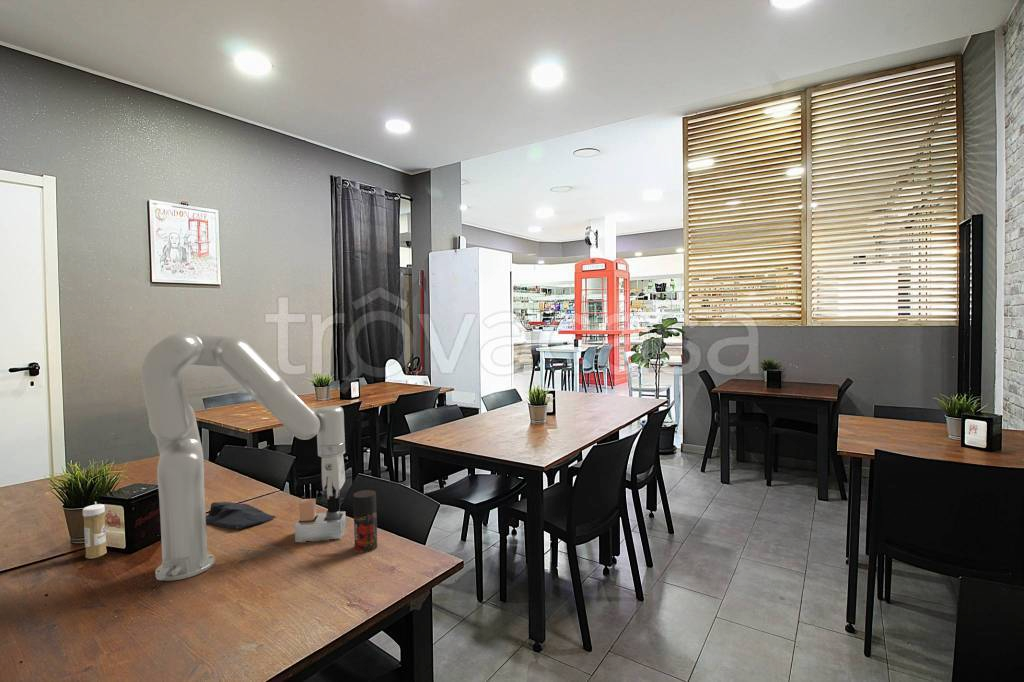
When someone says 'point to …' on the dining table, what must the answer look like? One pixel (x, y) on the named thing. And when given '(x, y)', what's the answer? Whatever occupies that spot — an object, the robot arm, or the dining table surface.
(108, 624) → the dining table surface
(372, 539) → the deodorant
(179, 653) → the dining table surface
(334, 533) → the mount
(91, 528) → the sprinkles bottle
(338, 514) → the knob round
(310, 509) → the button square
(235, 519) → the dark slate chunk
